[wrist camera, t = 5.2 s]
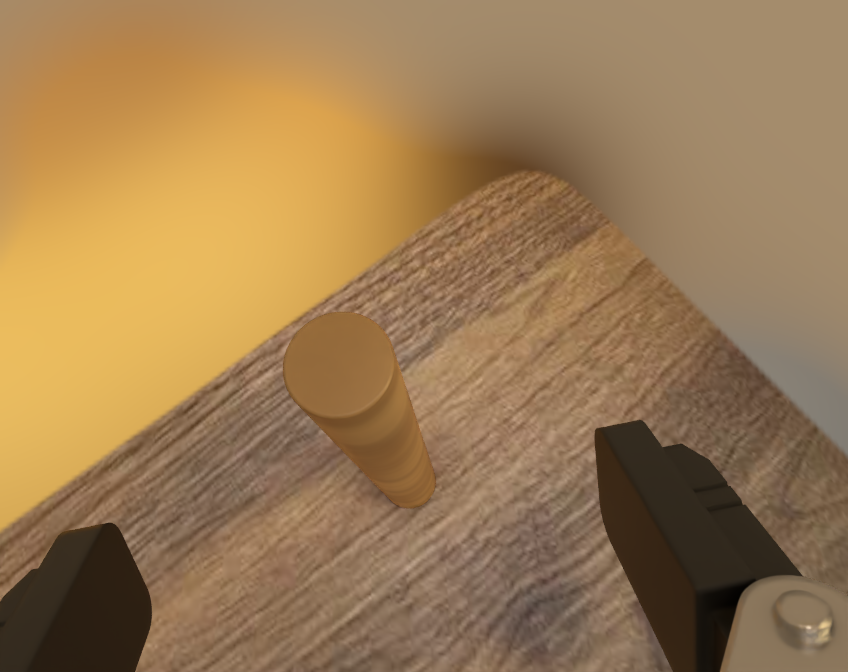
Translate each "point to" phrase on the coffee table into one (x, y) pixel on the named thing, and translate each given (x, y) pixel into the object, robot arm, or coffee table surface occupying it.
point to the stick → (361, 402)
